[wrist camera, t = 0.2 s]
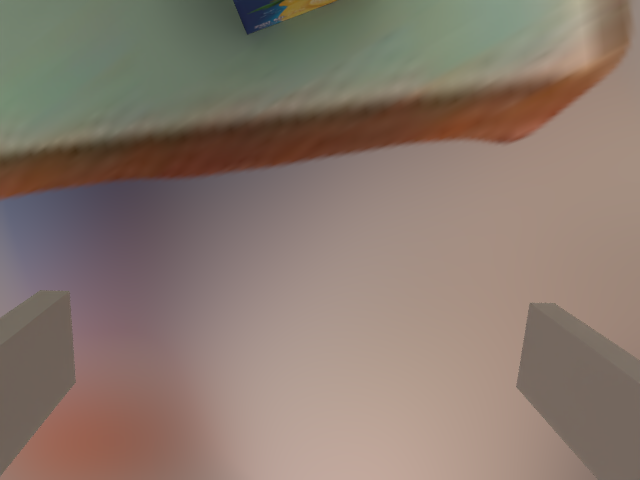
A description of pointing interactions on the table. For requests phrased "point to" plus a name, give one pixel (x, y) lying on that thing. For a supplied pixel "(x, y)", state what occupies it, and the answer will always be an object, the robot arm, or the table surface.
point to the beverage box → (273, 11)
